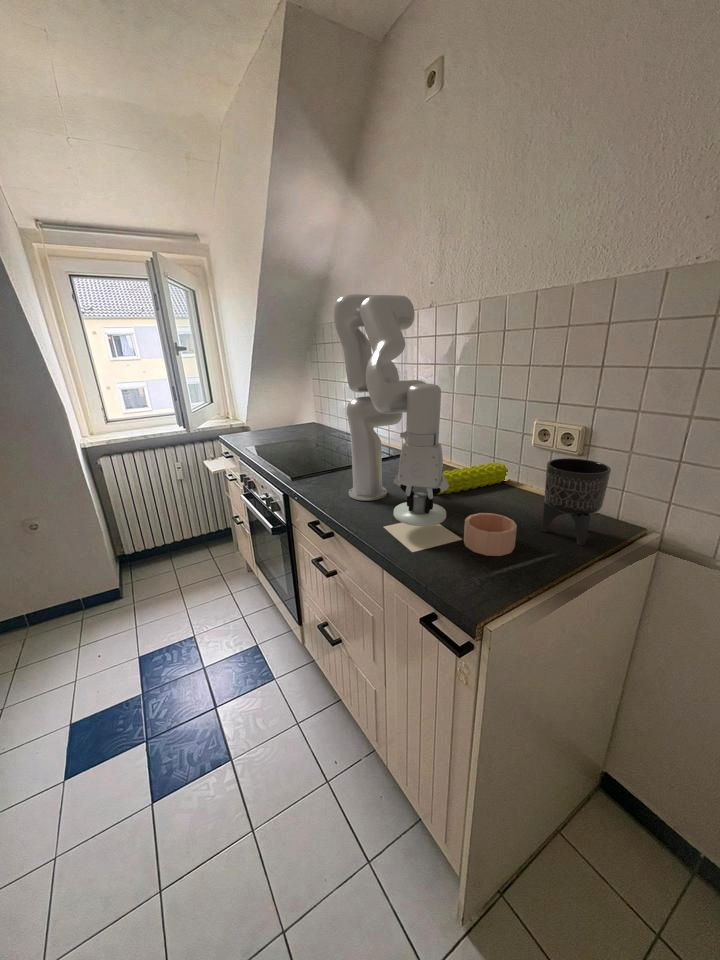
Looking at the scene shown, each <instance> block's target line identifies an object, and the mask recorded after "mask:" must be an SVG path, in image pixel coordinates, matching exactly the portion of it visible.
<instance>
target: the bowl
mask: <svg viewBox="0 0 720 960" xmlns="http://www.w3.org/2000/svg"><path fill="white" fill-rule="evenodd" d="M517 528H518V525H517V523H516V522H515V520H513V519H512V518H509V517H507V516H505V515H502V514H497V513H492V512H478V513H473V514H469V515H468V516H467V517H466V518H464V531H463V534H464V535H463V542H464V543H463V544H464V546H465V547H466V548H467V549H469V550H470V551H472V552H473V553H477V554H480V555H484V556H488V557H489V556H491V557H492V556H493V557H501V556H505V555H508V554H511V553H512V552H513V551H514V549H515V548H516V547H515V546H516V540H517V539H516V537H517V531H518V530H517Z"/></svg>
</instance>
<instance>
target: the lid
mask: <svg viewBox="0 0 720 960" xmlns="http://www.w3.org/2000/svg"><path fill="white" fill-rule="evenodd" d="M427 496H428V493H425V492H414V494H413V509H412V511H409V506H407V501H405V502H402V503H400V504H398V505H396V506H395V507H394V509H393V517H394V518H395V519H396V520H397V521H398V522H399V523H405V524H408V525H413V526H432V525H436V524H441V523H443V522H445V520H446V518H447V511H446V509H445V508H444V507H443V506H441V505H439V504H437V503H434V502H433V509H432V510H430V512H429V513H428V514H426V513H425V509H426V498H427Z"/></svg>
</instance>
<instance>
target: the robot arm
mask: <svg viewBox="0 0 720 960" xmlns="http://www.w3.org/2000/svg"><path fill="white" fill-rule="evenodd" d="M415 313H416V312H415V307H414V304H413V302H412V301H411V299H410V298H409V297H407V296H405V295H401V294H400V295H397V294H396V295H393V294H364V293H363V294H359V293H358V294H357V293H356V294H354V293H353V294H346V295H345V294H344V295H343V296H340V297H339V298H338V299H337V300H336V301H335V304H334V308H333V321H334V326H335V330H336V332H337V335H338V338H339V341H340V343H341V346H342V351H343V357H344V358H343V359H344V365H345V366H344V367H345V372H346V381H347V385H348V387H349V389H350V390H351V392H354V393H368V395H369V396H368V395H367V396H366V395H365V396H359V397H355V398H353V399H351V400H349V402H348V403H347V406H346V417H347V422H348V425H349V433H350V447H351V464H352V465H351V469H352V488H350V489H349V490H348V496H349V498H352V499H353V500H357V501H364V502H365V501H367V502H369V501H378V500H380V499H383V498H385V497H386V496H387V494H388V490H387V488H385V487H384V486H383V476H382V475H383V469H382V468H383V462H382V461H383V459H382V458H383V457H382V452H383V451H382V441H381V438H380V436H379V435H378V433H376V430H374V428H379V427H387V426H393V425H396V424H399V422H401V420H402V418H403V413H406V426H405V428H406V430H405V431H401V432H400V435H399V437H400V439H404V441H405V442H403V443H402V445H401V450H400V454H399V464H398V472H397V475H396V476H395V478H394V479H393V481H392V482H393V484H395V485H396V486H397V487H400V489H401V491H403V492H404V494H405V496H406V502H407V506H409V511H412V509H413V494H414V493H415V492H414V487H416V488H423V489H425V488H427V490H426V492H427V491H428V492H427V495H428V496H427V498H426V509H425V513H426V514H428V513H429V512H430V510H432V509H433V503H434V498H435V497H436V496H438V495H439V494H438V493H440V492H442V491H444V490H447V489H448V488H449V484H448V482H447V480H446V478H445V477H444V475H443V472H444V458H443V447H442V444H441V443H439V441H440V424H441V422H440V420H441V405H442V403H441V401H442V389H441V387H440V386H439V385H438V384H435V383H427V382H425V381H423V380H420V379H410V380H400V376H399V372H398V368H397V366H396V364H395V363H394V361H393V360H395V359H396V358H398V357H399V356H400V355H401V354H402V353H403V352H404V351H405V348H406V340H405V337H404V334H403V332H402V330H403V331H404V330H408V329H409V328H410V327H411V326H412V325H413V323H414V321H415V316H416V315H415ZM359 327H362V328H363V327H364V331H365V333H364V332H363V331H362V330H361V329H360V328H359ZM440 484H441V486H440ZM437 494H438V495H437Z"/></svg>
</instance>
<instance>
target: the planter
mask: <svg viewBox="0 0 720 960" xmlns="http://www.w3.org/2000/svg"><path fill="white" fill-rule="evenodd" d="M545 471H546V472H545V473H546V475H545V488H544V502H543V514H542V525H541V532H542V533H548V530H549V527H550V525H551V523H552V521H554V520H555V519H556V518H557V517H559V516H563V515H566V514H567V515H570V517H571V518H572V519H573V521H574V529H575V530H576V542H575V543H576V545H578V546H585V545H586V541H587V537H588V530H589V526H590V521H591V516H592V515H591V514H596V513H598V512H600V511H601V509H602V508H603V506H604V501H605V496H606V493H607V488H608V485H609V480H610V475H611V471H612V468H611V467H610V466H608V465H607V464H605V463H602V462H599V461H595V460H591V459H584V458H583V459H582V458H571V457H569V458H567V457H565V458H564V457H563V458H555V459H551V460H548V462H547V463H546V470H545Z"/></svg>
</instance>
